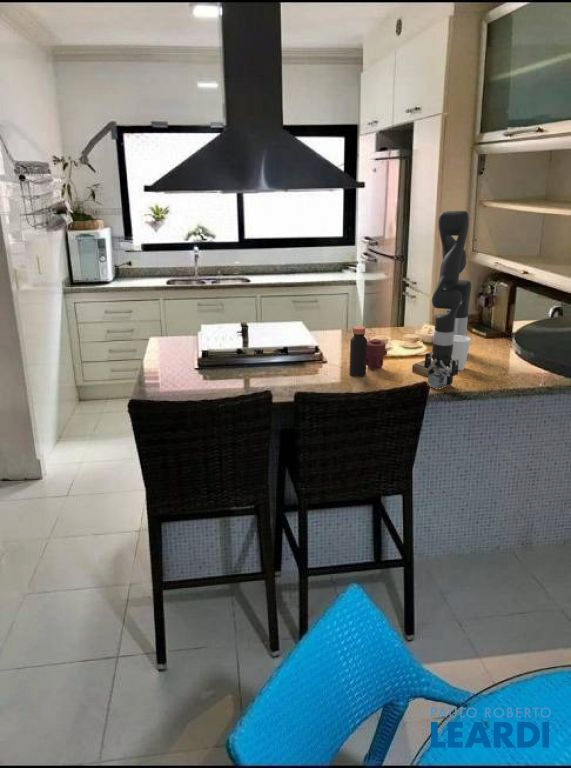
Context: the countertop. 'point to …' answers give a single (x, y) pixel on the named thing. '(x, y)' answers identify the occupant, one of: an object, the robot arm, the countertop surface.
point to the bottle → (358, 352)
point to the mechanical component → (375, 354)
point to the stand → (422, 368)
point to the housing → (438, 379)
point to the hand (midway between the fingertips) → (439, 381)
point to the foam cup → (460, 350)
